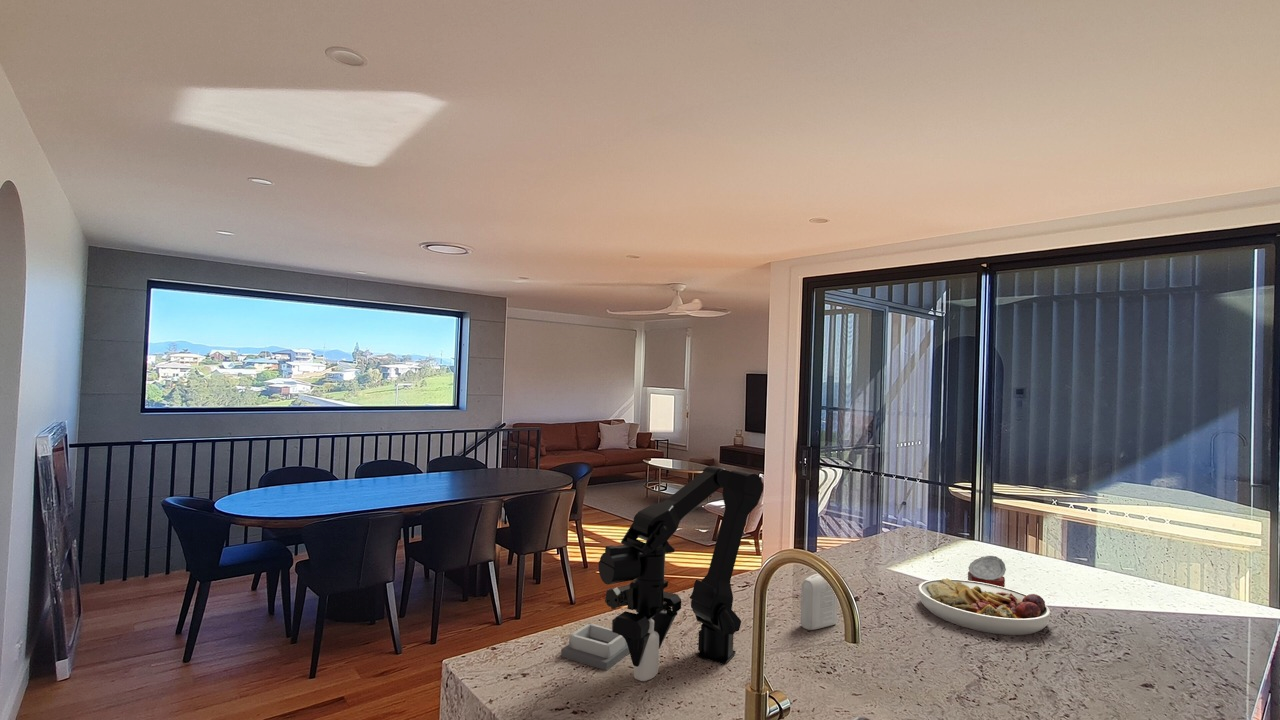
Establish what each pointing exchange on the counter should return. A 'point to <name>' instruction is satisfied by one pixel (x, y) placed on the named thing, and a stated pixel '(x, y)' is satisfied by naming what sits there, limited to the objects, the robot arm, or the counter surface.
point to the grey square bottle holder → (595, 647)
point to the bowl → (984, 606)
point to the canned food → (987, 571)
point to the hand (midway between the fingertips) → (646, 657)
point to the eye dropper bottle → (649, 657)
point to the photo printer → (817, 603)
